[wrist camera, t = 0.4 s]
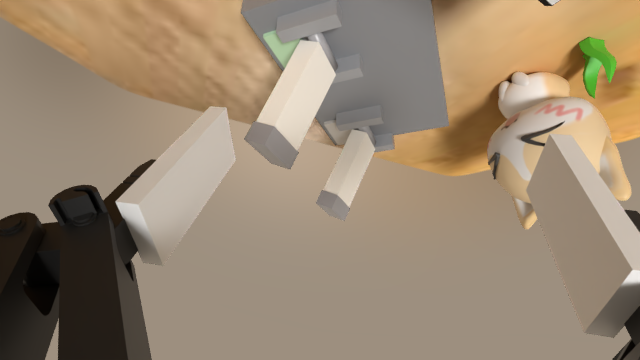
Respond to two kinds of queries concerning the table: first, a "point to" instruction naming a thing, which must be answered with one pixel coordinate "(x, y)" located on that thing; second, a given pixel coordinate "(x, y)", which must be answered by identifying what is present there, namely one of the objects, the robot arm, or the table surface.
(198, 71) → the table surface
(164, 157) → the robot arm
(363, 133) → the lever
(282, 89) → the lever
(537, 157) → the kitten
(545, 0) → the puzzle cube
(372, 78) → the console
